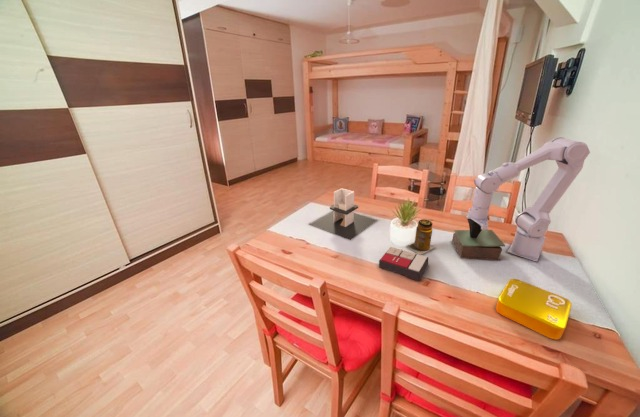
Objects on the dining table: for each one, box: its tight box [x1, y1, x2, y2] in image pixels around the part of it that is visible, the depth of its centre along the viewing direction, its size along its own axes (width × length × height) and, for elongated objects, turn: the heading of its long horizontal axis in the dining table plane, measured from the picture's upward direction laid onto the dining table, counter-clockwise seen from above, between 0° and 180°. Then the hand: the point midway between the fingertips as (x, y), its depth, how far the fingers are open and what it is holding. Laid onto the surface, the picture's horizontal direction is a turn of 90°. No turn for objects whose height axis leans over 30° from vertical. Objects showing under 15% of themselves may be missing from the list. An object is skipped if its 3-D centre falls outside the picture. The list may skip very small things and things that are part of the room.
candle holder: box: [309, 188, 378, 241], centre depth 129 cm, size 25×24×16 cm
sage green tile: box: [453, 229, 506, 248], centre depth 103 cm, size 14×12×1 cm
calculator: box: [378, 246, 430, 282], centre depth 98 cm, size 11×4×15 cm
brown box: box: [451, 231, 503, 261], centre depth 105 cm, size 14×12×5 cm
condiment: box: [406, 218, 434, 256], centre depth 107 cm, size 7×8×12 cm
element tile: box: [495, 278, 572, 341], centre depth 76 cm, size 15×15×5 cm
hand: (473, 237), depth 103 cm, fingers closed, pressing on sage green tile
